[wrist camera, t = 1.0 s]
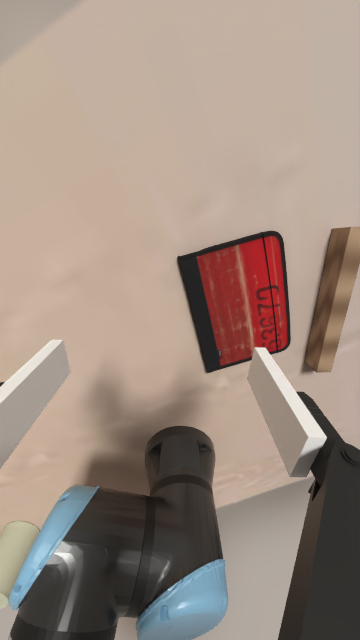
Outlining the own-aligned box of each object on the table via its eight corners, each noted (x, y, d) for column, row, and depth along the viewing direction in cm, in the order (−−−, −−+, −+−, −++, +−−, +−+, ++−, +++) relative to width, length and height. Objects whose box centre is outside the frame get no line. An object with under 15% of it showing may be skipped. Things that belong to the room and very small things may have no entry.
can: (3, 519, 53) (-43, 592, 42) (40, 522, 54) (5, 595, 43) (5, 539, 56) (-37, 612, 45) (40, 542, 57) (8, 615, 46)
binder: (207, 374, 37) (177, 256, 30) (205, 367, 39) (176, 255, 32) (294, 350, 37) (284, 225, 30) (287, 344, 39) (276, 227, 32)
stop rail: (317, 361, 39) (330, 371, 36) (304, 361, 39) (316, 372, 36) (348, 228, 31) (369, 226, 28) (332, 228, 31) (350, 227, 28)
